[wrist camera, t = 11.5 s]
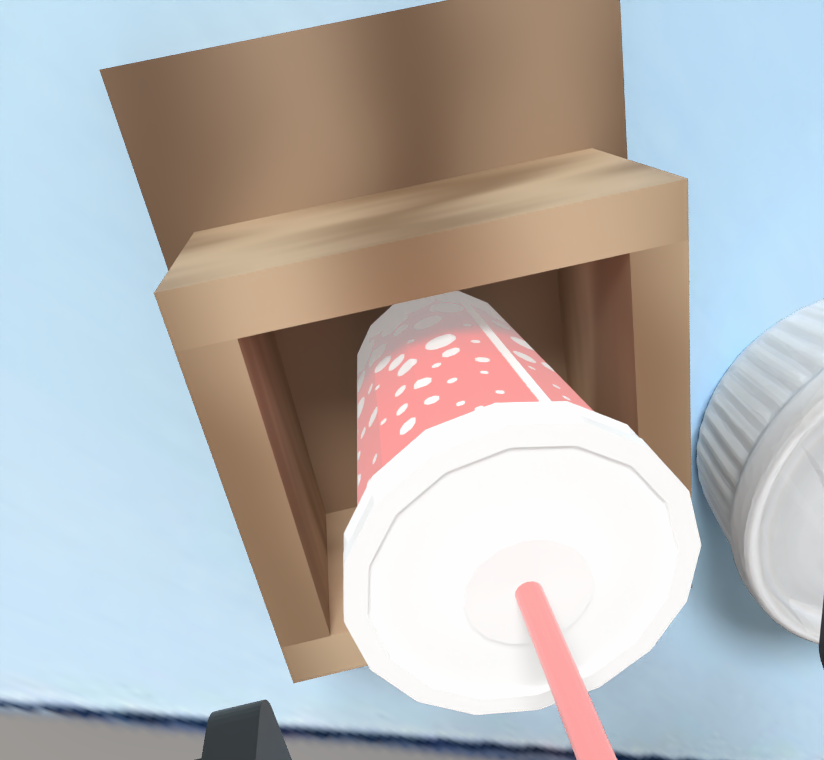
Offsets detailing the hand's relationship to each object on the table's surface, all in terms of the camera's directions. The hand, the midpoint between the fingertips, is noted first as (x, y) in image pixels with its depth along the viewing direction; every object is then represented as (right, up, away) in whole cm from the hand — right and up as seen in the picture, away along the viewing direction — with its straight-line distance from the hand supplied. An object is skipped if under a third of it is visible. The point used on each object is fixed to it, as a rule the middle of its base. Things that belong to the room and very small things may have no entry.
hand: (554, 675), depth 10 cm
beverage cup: (-1, +5, +10) cm, 11 cm away
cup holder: (-2, +5, +11) cm, 12 cm away
